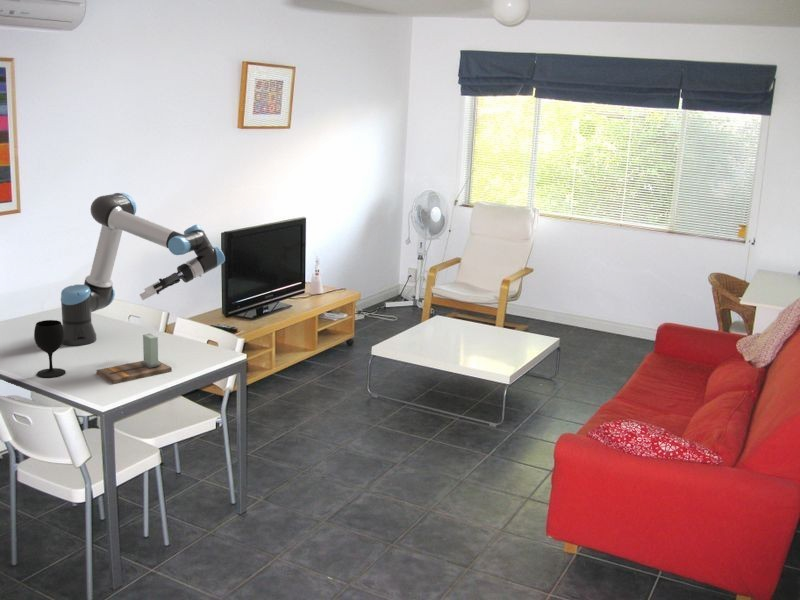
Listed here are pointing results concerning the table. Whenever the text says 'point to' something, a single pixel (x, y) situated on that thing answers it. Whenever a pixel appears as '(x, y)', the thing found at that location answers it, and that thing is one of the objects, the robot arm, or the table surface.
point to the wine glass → (49, 344)
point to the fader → (150, 351)
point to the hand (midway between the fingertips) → (143, 294)
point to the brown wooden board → (131, 371)
